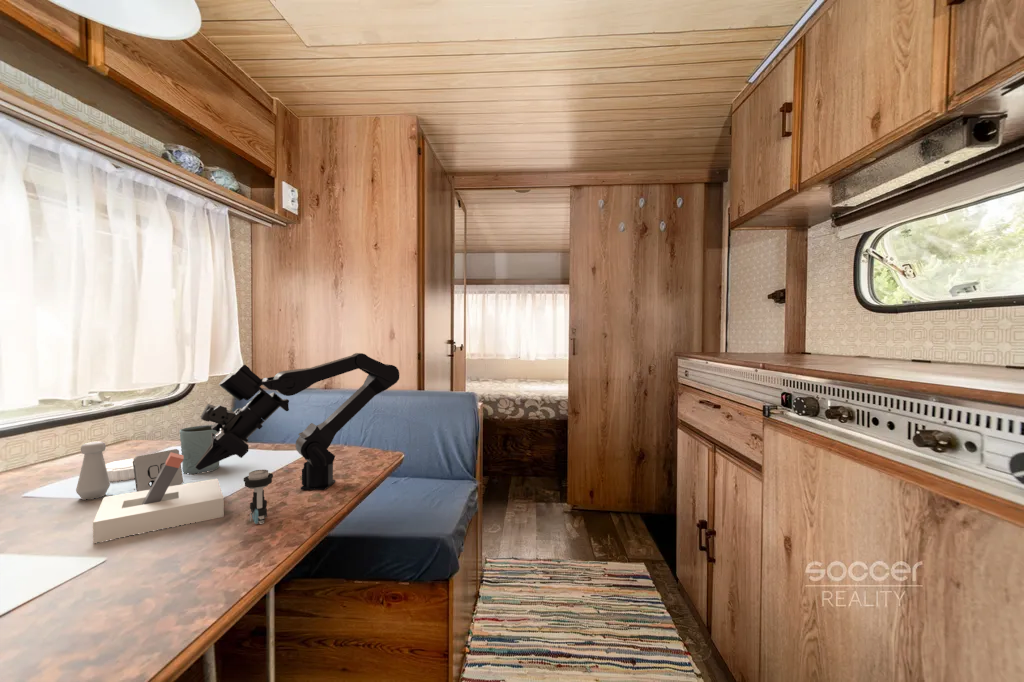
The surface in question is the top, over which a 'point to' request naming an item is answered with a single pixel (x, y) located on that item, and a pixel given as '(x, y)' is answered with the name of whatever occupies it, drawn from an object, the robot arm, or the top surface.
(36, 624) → the top surface
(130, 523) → the box
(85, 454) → the salt shaker
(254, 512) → the push button
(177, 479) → the electrical switch
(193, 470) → the green cup
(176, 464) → the lever
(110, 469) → the mooncake
